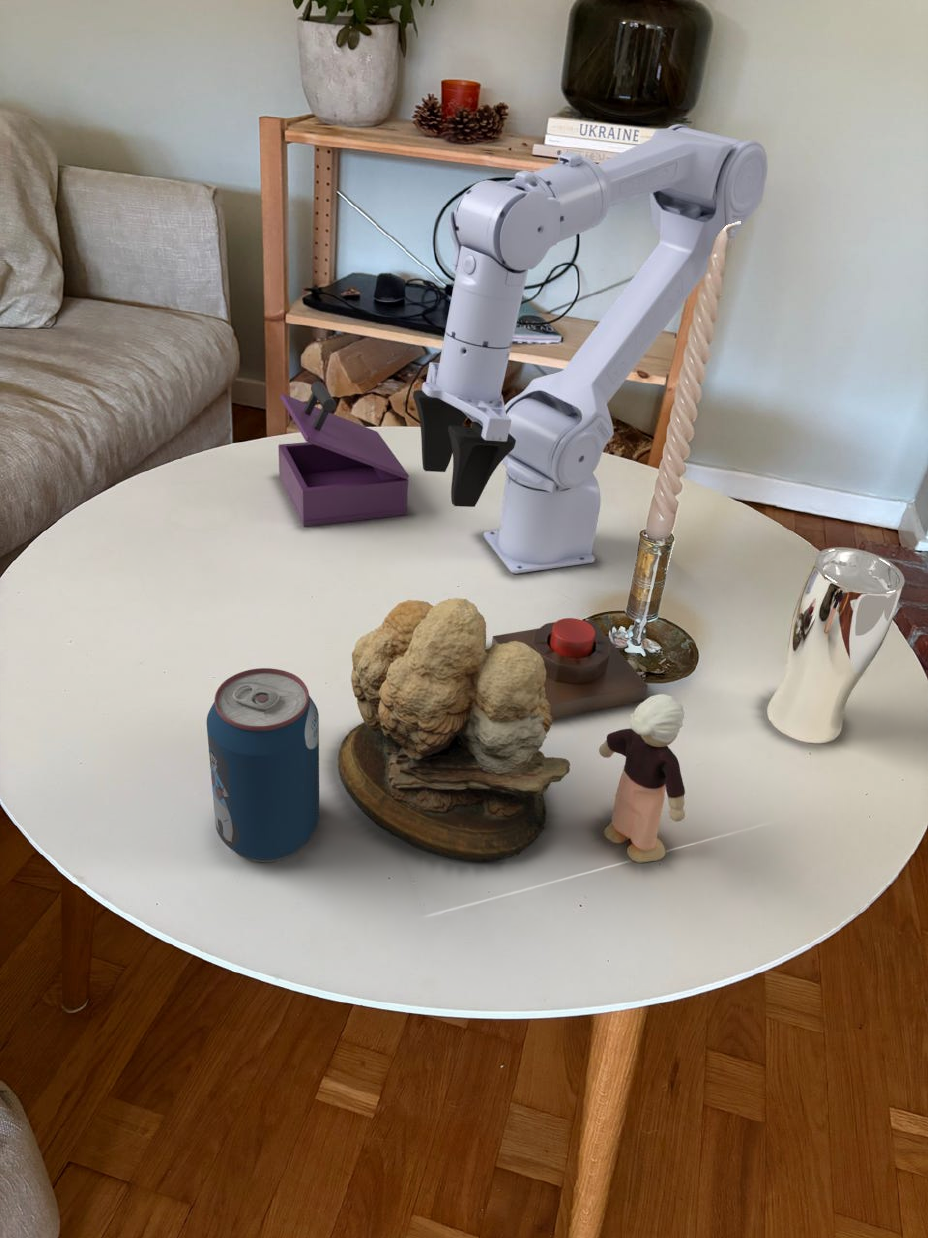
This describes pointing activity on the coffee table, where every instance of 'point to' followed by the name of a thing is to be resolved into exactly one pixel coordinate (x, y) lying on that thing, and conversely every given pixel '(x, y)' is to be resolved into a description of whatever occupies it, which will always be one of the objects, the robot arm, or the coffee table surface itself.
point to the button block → (582, 674)
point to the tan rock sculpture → (449, 733)
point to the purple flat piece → (340, 432)
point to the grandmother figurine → (646, 776)
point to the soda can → (264, 763)
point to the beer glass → (833, 640)
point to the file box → (337, 486)
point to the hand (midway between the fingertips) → (448, 487)
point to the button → (572, 638)
